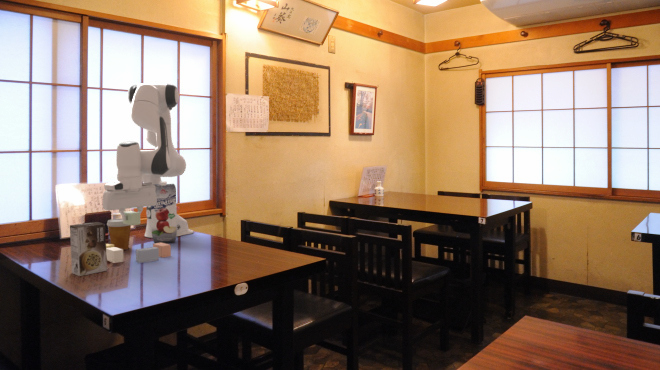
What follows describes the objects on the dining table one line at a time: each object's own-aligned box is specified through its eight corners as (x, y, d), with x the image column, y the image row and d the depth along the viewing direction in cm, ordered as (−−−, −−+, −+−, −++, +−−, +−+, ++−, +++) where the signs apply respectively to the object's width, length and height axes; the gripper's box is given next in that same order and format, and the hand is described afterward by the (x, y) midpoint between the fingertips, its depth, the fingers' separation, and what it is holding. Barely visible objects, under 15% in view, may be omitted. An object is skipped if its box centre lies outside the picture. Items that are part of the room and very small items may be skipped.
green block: (131, 222, 186) (131, 211, 185) (140, 224, 181) (140, 212, 181) (123, 223, 183) (122, 212, 183) (131, 225, 178) (131, 213, 178)
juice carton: (152, 240, 211) (151, 180, 209) (177, 239, 214) (176, 180, 212) (151, 244, 202) (149, 182, 200) (177, 243, 205) (175, 181, 204)
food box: (98, 267, 162) (97, 221, 160) (107, 271, 157) (106, 223, 156) (70, 273, 154) (69, 224, 153) (79, 276, 150) (77, 226, 149)
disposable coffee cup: (137, 246, 197) (136, 218, 196) (125, 251, 188) (124, 222, 187) (115, 246, 198) (114, 218, 197) (102, 251, 189) (101, 221, 188)
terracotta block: (161, 253, 185) (161, 242, 184) (170, 256, 180) (170, 244, 180) (153, 255, 182) (152, 243, 182) (162, 257, 178) (162, 246, 177)
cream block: (115, 258, 176) (115, 246, 176) (123, 261, 171) (123, 249, 171) (106, 260, 173) (105, 248, 173) (113, 263, 169) (113, 251, 168)
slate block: (136, 261, 172) (135, 249, 171) (155, 258, 176) (155, 246, 176) (139, 263, 169) (139, 250, 169) (158, 260, 173) (158, 248, 173)
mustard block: (101, 254, 183) (101, 243, 183) (114, 256, 180) (114, 244, 180) (93, 256, 180) (93, 244, 180) (106, 257, 177) (106, 246, 177)
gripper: (151, 181, 190) (152, 215, 192) (99, 185, 175) (101, 221, 176) (159, 182, 186) (160, 216, 188) (107, 186, 171) (109, 223, 172)
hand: (131, 219), depth 182 cm, fingers closed on green block, 3 cm apart
